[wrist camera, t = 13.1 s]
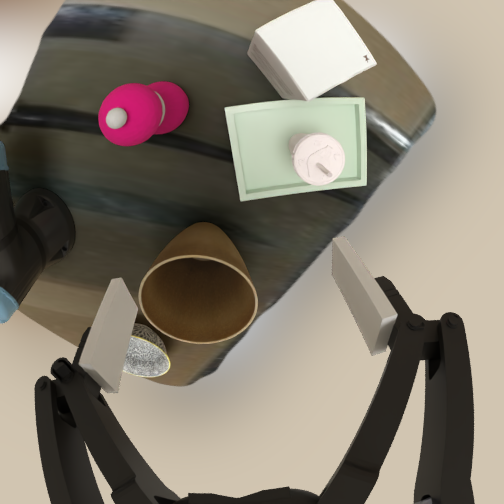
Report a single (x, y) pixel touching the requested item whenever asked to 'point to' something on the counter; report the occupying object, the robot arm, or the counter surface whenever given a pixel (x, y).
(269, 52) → the supplement box
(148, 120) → the pepper mill
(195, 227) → the plant pot
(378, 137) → the counter surface
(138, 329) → the bowl
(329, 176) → the smoothie
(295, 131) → the tray
